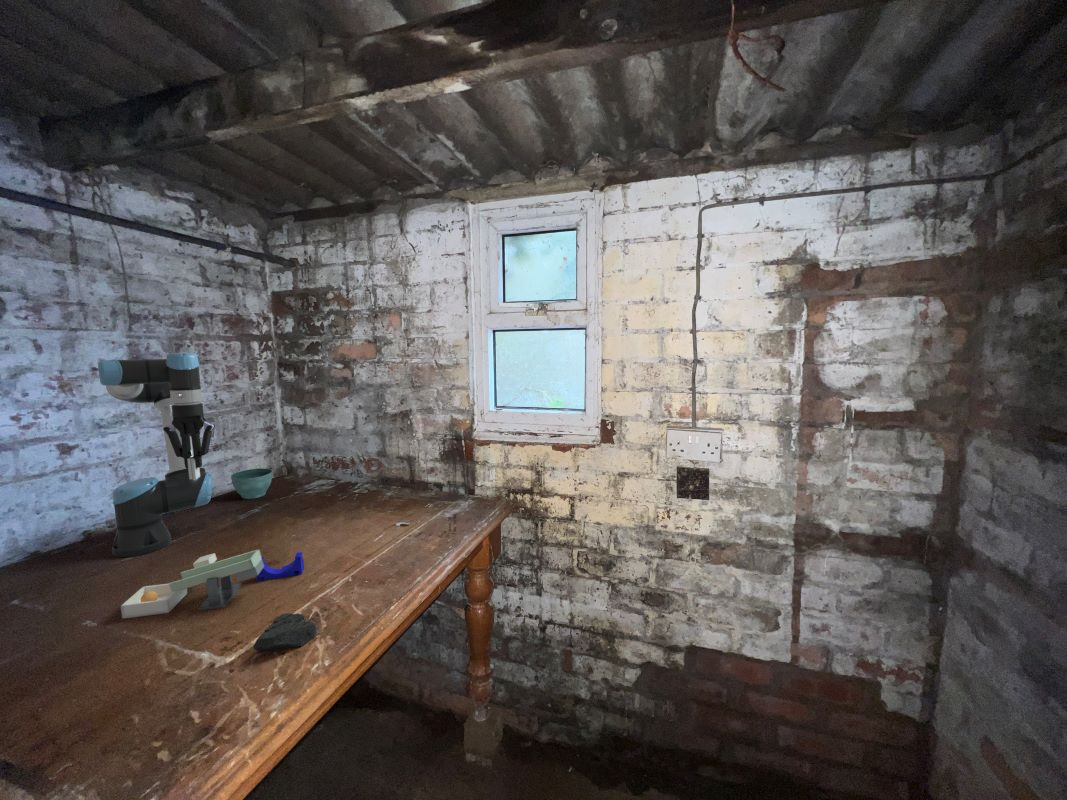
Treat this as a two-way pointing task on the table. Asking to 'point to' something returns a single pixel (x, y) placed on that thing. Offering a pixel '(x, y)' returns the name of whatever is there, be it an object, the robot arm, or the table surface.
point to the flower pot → (252, 482)
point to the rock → (285, 633)
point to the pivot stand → (219, 592)
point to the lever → (220, 569)
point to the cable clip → (286, 571)
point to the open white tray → (161, 605)
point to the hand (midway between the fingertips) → (194, 477)
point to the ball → (149, 596)
